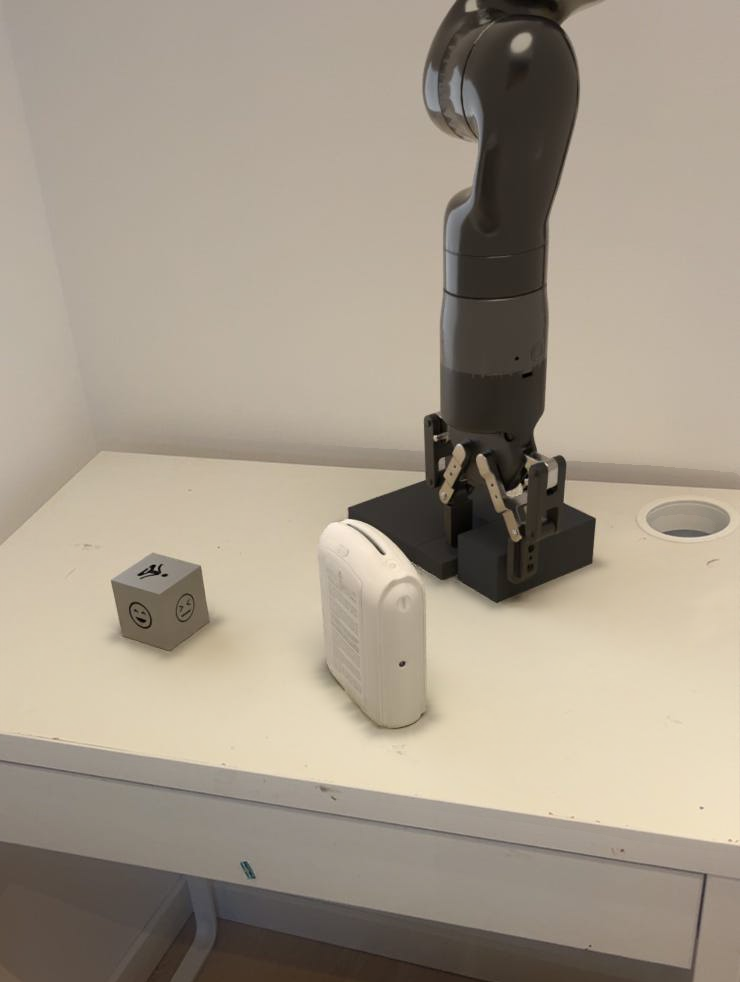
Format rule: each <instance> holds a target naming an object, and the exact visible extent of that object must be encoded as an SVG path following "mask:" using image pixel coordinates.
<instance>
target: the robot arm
mask: <svg viewBox="0 0 740 982" xmlns="http://www.w3.org/2000/svg"><path fill="white" fill-rule="evenodd" d="M605 1H606V0H455V1H454V3H453V4H452V6H451V7H450V8H449V9H448V11H447V13H446V14H445V16H444V17H443V19H442V21H441V22H440V25H439V26H438V28H437V30H436V31H435V34H434V36H433V38H432V40H431V43H430V45H429V49H428V52H427V54H426V57H425V62H424V65H423V71H422V78H421V79H422V80H421V94H422V101H423V106H424V109H425V111H426V113H427V116H428V118H429V120H430V121H431V122H432V123H433V125H434V126H435V127H436V128H437V129H438V130H440V131H441V132H442V133H443V134H446V135H447V136H449V137H450V138H453V139H456V140H461V141H464V142H469V143H472V144H477V156H476V161H475V162H476V163H475V168H474V174H473V179H472V184H471V186H468V187H465V188H463V189H461V190H459V191H458V192H457V193H455V194H454V195H452V196H451V198H450V199H449V201H448V202H447V204H446V207H445V210H444V213H443V220H442V221H443V222H442V298H441V299H442V300H441V306H440V314H439V402H440V403H439V406H440V407H439V408H440V409H439V411H436V412H433V413H430V414H426V415H425V416H424V418H423V439H424V440H423V442H424V445H423V446H424V467H425V469H424V471H425V480H426V484H427V486H428V487H429V488H430V489H434V488H436V489H437V490H438V491H439V497H440V500H441V501H442V503H444V518H445V519H444V523H445V524H444V530H445V534H446V544H447V545H449V546H450V547H452V548H457V547H458V535H459V534H462V533H464V532H467V531H469V530H472V529H473V499H471V498H469V497H467V496H469V495H471V494H472V492H473V490H474V488H475V487H481V488H482V489H483V490H484V491H485V492H486V493H488V494H490V496H491V499H492V502H493V505H494V508H495V510H496V512H498V513H500V514H502V515H503V517H504V520H505V523H506V525H507V528H508V531H509V534H510V537H511V538H508V555H507V579H508V580H509V581H510V582H512V583H514V584H518V583H520V582H523V581H525V580H528V579H530V578H532V577H533V575H534V574H535V573H536V571H537V561H538V558H537V557H538V543H539V540H540V539H542V538H545V537H547V536H550V535H553V534H556V533H559V532H560V531H561V528H562V515H563V503H565V502H564V501H565V489H566V477H567V461H566V459H565V456H563V455H561V454H558V455H555V456H552V457H548V456H546V455H544V454H541V453H539V452H538V448H537V444H536V440H535V428H536V426H537V424H538V423H539V421H540V419H541V418H542V417H543V415H544V412H545V410H546V409H545V408H546V392H547V390H546V389H547V372H548V371H547V368H548V351H549V349H548V348H549V347H548V346H549V327H550V311H549V309H550V307H549V298H548V269H549V251H550V250H549V249H550V218H551V213H552V210H553V207H554V203H555V200H556V197H557V194H558V191H559V188H560V184H561V182H562V181H561V180H562V177H563V173H564V169H565V165H566V162H567V158H568V154H569V150H570V148H571V147H570V146H571V143H572V139H573V135H574V132H575V127H576V123H577V120H578V115H579V114H578V113H579V107H580V100H581V75H580V67H579V66H580V65H579V61H578V56H577V53H576V49H575V47H574V45H573V42H572V40H571V38H570V36H569V34H568V33H567V32H566V30H565V29H564V28H563V27H562V25H563V23H565V21H566V20H568V19H569V18H571V17H572V16H574V15H575V14H577V13H580V12H582V11H585V10H587V9H590V8H592V7H595V6H597V5H600V4H601V3H603V2H605ZM443 458H444V468H441V469H440V464H439V463H440V460H441V459H443ZM520 485H521V488H522V489H521V490H522V491H521V494H519V495H516V496H513V497H511V496H509V495H508V494H507V493H508V492H511V491H513V490H515V489H517V488H518V487H519V486H520ZM508 496H509V497H508ZM510 497H511V498H510ZM518 506H522V507H523V508H524V510H525V513H526V521H524V522H521V521H520V518H519V515H518V512H517V508H518ZM546 510H547V514H546V518H543V517H542V514H543V512H544V511H546Z"/></svg>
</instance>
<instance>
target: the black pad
mask: <svg viewBox="0 0 740 982" xmlns="http://www.w3.org/2000/svg"><path fill="white" fill-rule="evenodd" d="M507 496H508V497H510V498H512V497H511V496H509V495H507ZM467 497H469V498H471V499H473V505H474V504H476V503H479V502H482V501H485V500H487V499H490V498H491V496H490V494H488V493H486V492H485V491H484V490H483V489H482V488H481V487H475V488H474V490H473V492H472V494H471V495H469V496H467ZM518 507H519V508H521V509H523V510H524V508H523V507H522V506H518ZM347 517H348V518H347V519H352V520H357V521H361V522H364V523H366V524H369V525H371V526H372V527H374V528H376V529H377V530H379V531H380V532H382V533H383V534H384V535H385V536H387V537H388V538H389V539H390V540H391V541H392V542H393V543H394V544H395V545H396V546H397V547H398V548H399V549H400V550H401V551H402V552H403V553H404V554H405V556H406V557H407V558H408V560H409V561H410V562H411V563H414V564H415V565H417V566H419V567H420V568H422V569H423V570H425V571H427V572H428V573H430V574H432V575H433V576H435V577H436V578H438V579H440V580H441V581H443V580H444V581H445V580H446V579H448V578H451V577H453V576H454V577H455V576H456V575H458V547H457V548H452V547H450V546H449V545H447V544H446V534H445V530H444V524H445V523H444V519H445V518H444V503H442V501H441V500H440V497H439V491H438V490H437V489H436V488H434V489H430V488H429V487H428V486H427V484H426V479H424V480H421V481H419V482H415V483H412V484H410V485H407V486H405V487H401V488H398V489H395V490H393V491H390V492H388V493H385V494H382V495H379V496H376V497H373V498H371V499H368V500H365V501H361V502H359V503H356V504H354V505H350V506H348V507H347Z"/></svg>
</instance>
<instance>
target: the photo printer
mask: <svg viewBox="0 0 740 982" xmlns="http://www.w3.org/2000/svg"><path fill="white" fill-rule="evenodd" d="M317 562H318V563H317V564H318V575H319V588H320V602H321V614H322V615H321V617H322V629H323V643H324V655H325V661H326V664H327V667H328V670H329V672H330V673H331V674H332V676H333V677H334V678H335V679H336V681H337V682H338V683H339V684H340V686H341V687H342V688H343V689H344V691H345V692H346V693H347V694H348V695H349V696H350V697H351V699H352V700H353V701H354V702H355V703H356V704H357V705H358V707H360V709H361V710H362V712H363V713H365V714H366V716H368V717H369V718H370V719H371V720H372V722H374V723H375V724H377V725H378V726H379V727H383V726H384V727H386V728H388V729H397V728H403V727H407V726H409V725H411V724H413V723H415V722H417V721H418V720H419V719H420V718H421V715H422V714H424V713H425V712H426V709H427V701H428V700H427V698H428V697H427V693H428V692H427V691H428V688H427V687H428V686H427V684H428V683H427V680H428V679H427V599H426V598H427V597H426V596H427V595H426V589H425V586H424V584H423V581H422V578H421V576H420V575H419V573H418V571H417V570H416V568H415V567H414V565H413V564H412V561H411V560H409V559H408V558H407V557H406V556H405V554H404V553H403V552H402V551H401V550H400V549H399V548H398V547H397V546H396V545H395V544H394V543H393V542H392V541H391V540H390V539H389V538H388V537H387V536H385V535H384V534H383V533H382V532H380V531H379V530H377V529H376V528H374V527H372V526H371V525H369V524H366V523H364V522H361V521H357V520H352V519H348V518H345V519H343V520H342V521H338V522H337V521H336V522H335V521H334V522H333V521H332V522H331V523H329V524H328V525H327V526H326V527H325V529H324V530H323V531H322V533H321V535H320V537H319V541H318V544H317Z"/></svg>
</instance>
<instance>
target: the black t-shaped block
mask: <svg viewBox="0 0 740 982" xmlns="http://www.w3.org/2000/svg"><path fill="white" fill-rule="evenodd" d="M517 512H518V515H519V518H520V521H521V522H524V521H526V513H525V510H523V509H521V508H519V507H518V508H517ZM546 514H547V510H546V511H544V512H543V514H542V517H543V518H546ZM596 523H597V518H596V517H595V516H593V515H590V514H588V513H586V512H584V511H582V510H580V509H577V508H576V507H574V506H572V505H570V504H568V503H566V502H564V503H563V515H562V528H561V531H560V532H559V533H556V534H553V535H550V536H547V537H545V538H542V539H540V540H539V543H538V557H537V558H538V561H537V571H536V573H535V574H534V575H533V577H532V578H530V579H528V580H525V581H523V582H520V583H518V584H514V583H512V582H510V581H509V580H508V579H507V555H508V538H511V537H510V534H509V531H508V528H507V525H506V523H505V520H504V517H503V515H502V514H500V513H498V512H496V510H495V508H494V505H493V502H492V499H491V498H490V499H487V500H485V501H482V502H479V503H476V504H474V505H473V529H472V530H469V531H467V532H464V533H462V534H459V535H458V574H457V580H458V581H460V582H462V583H463V584H465V585H466V586H468V587H470V588H471V589H473V590H475V591H476V592H478V593H480V594H482V595H483V596H485V597H486V598H488V599H490V600H492V601H493V602H495V603H499V602H502V601H505V600H506V599H509V598H512V597H514V596H516V595H518V594H521V593H523V592H525V591H528V590H530V589H533V588H535V587H538V586H540V585H543V584H545V583H548V582H550V581H553V580H555V579H558V578H559V577H562V576H565V575H567V574H569V573H571V572H575V571H576V570H579V569H581V568H583V567H586V566H588V565H591V564H593V558H594V548H595V536H596Z"/></svg>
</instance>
